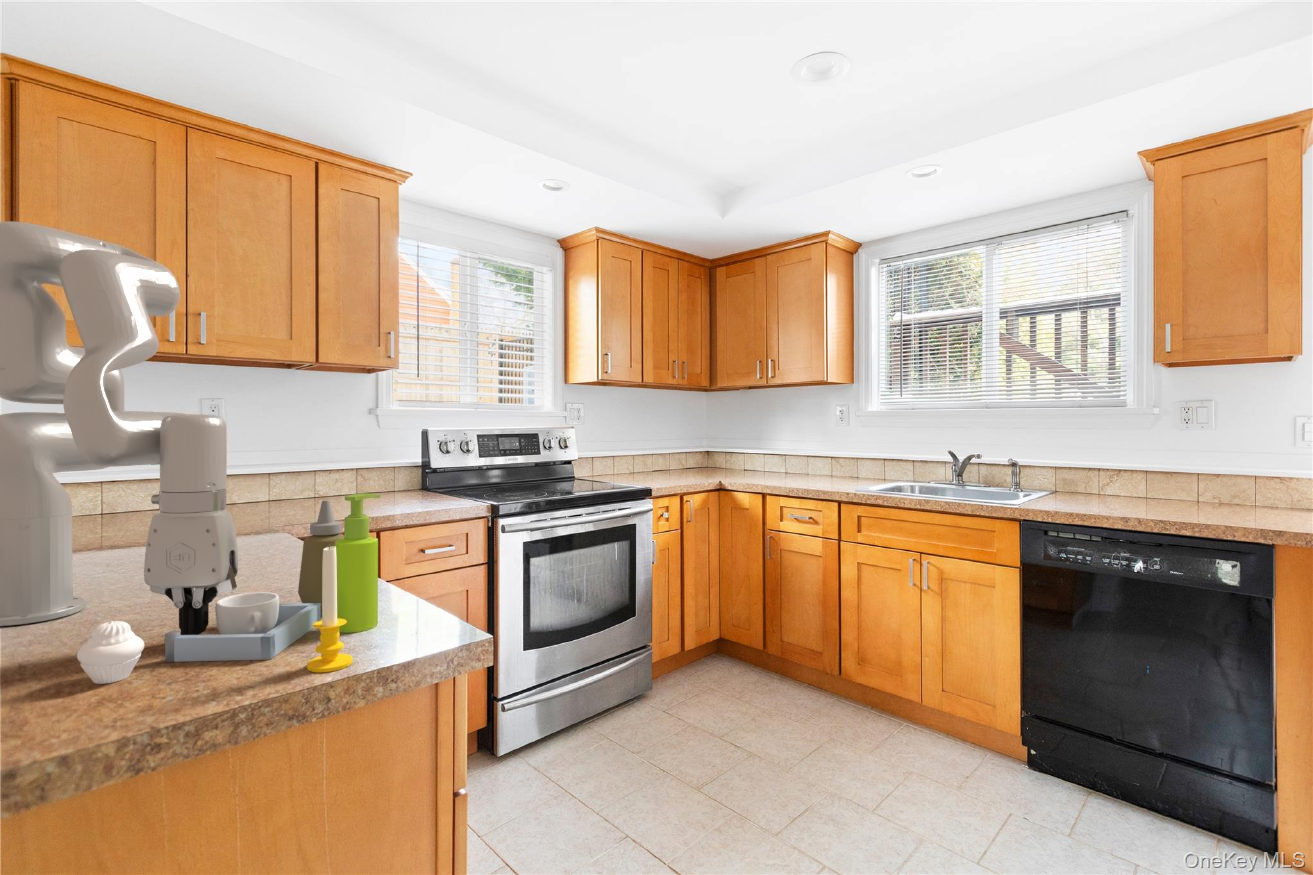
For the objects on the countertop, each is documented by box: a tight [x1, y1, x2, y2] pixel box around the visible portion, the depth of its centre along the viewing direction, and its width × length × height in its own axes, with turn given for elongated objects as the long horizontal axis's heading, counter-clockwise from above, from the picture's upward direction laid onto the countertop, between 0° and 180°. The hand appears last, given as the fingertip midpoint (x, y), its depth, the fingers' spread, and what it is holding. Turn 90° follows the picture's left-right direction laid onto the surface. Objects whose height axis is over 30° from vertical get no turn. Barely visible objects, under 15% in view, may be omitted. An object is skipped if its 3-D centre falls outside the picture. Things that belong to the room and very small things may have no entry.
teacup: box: [214, 591, 280, 635], centre depth 91 cm, size 10×8×5 cm
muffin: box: [76, 620, 145, 685], centre depth 76 cm, size 6×6×7 cm
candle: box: [306, 544, 354, 674], centre depth 82 cm, size 5×5×16 cm
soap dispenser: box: [335, 492, 381, 634], centre depth 97 cm, size 6×7×20 cm
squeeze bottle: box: [297, 499, 344, 616], centre depth 104 cm, size 8×8×18 cm
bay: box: [164, 602, 322, 663], centre depth 90 cm, size 13×16×4 cm
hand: (193, 633), depth 90 cm, fingers closed
